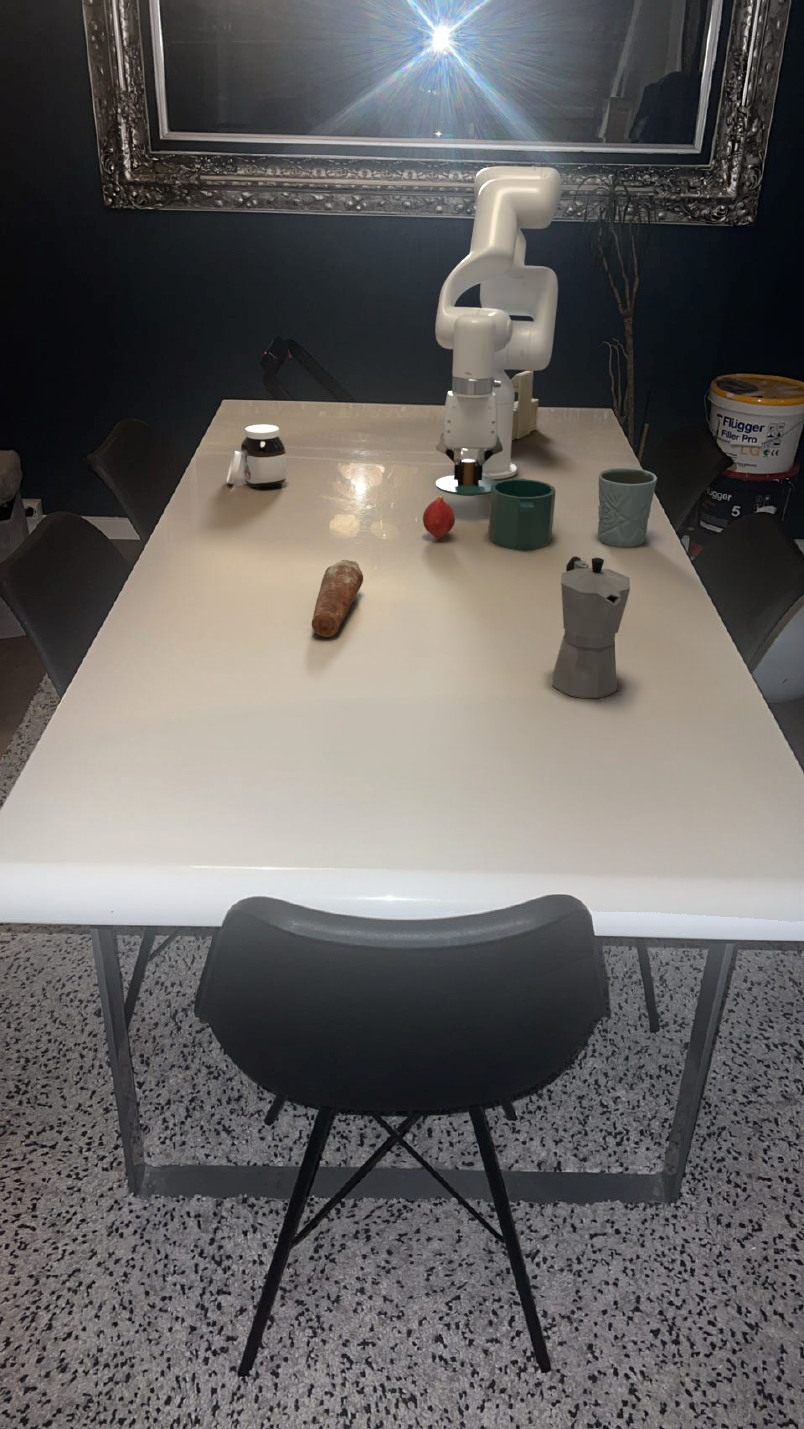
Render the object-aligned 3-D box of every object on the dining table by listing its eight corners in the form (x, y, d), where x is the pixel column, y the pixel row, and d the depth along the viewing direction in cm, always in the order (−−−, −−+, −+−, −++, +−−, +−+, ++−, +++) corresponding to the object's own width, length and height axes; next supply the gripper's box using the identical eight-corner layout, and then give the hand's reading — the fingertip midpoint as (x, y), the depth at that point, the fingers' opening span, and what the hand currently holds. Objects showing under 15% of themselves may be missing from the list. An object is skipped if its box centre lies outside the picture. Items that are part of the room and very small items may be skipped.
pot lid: (436, 498, 196) (437, 469, 193) (435, 479, 207) (435, 451, 204) (501, 499, 196) (503, 470, 193) (497, 480, 207) (498, 452, 204)
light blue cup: (658, 539, 191) (667, 475, 185) (629, 553, 185) (637, 487, 179) (611, 526, 197) (619, 464, 191) (581, 539, 191) (588, 475, 185)
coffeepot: (636, 702, 136) (654, 574, 127) (569, 710, 134) (582, 580, 125) (591, 652, 149) (605, 533, 140) (529, 658, 147) (539, 537, 138)
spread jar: (292, 487, 216) (290, 431, 210) (243, 496, 211) (240, 439, 205) (265, 473, 225) (262, 419, 219) (218, 481, 219) (213, 426, 213)
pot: (491, 554, 183) (494, 502, 179) (485, 523, 198) (488, 474, 193) (556, 555, 183) (560, 503, 179) (545, 524, 198) (549, 475, 193)
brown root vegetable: (364, 592, 168) (364, 559, 165) (340, 642, 151) (340, 607, 148) (326, 589, 168) (325, 557, 166) (298, 639, 152) (297, 604, 149)
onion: (417, 541, 189) (418, 498, 185) (429, 531, 193) (430, 489, 190) (447, 545, 187) (449, 502, 183) (458, 535, 192) (460, 493, 188)
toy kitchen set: (481, 420, 268) (484, 359, 261) (539, 430, 260) (544, 367, 253) (444, 435, 255) (446, 372, 247) (504, 446, 247) (508, 380, 239)
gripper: (514, 382, 195) (507, 479, 204) (428, 381, 195) (425, 477, 204) (517, 391, 188) (511, 490, 197) (428, 389, 188) (426, 488, 197)
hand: (467, 482), depth 200 cm, fingers closed on pot lid, 2 cm apart
